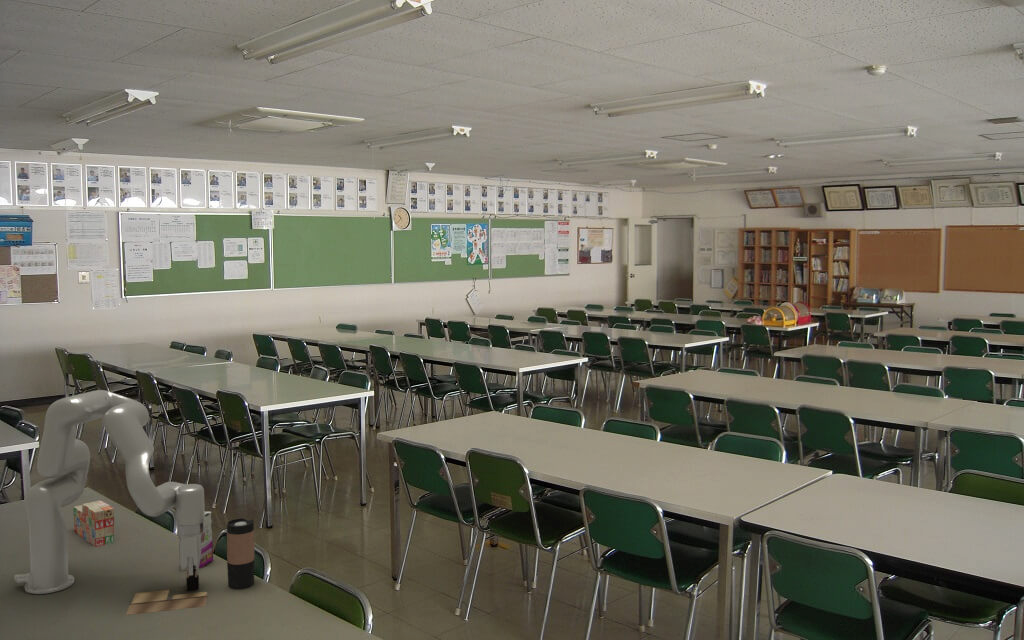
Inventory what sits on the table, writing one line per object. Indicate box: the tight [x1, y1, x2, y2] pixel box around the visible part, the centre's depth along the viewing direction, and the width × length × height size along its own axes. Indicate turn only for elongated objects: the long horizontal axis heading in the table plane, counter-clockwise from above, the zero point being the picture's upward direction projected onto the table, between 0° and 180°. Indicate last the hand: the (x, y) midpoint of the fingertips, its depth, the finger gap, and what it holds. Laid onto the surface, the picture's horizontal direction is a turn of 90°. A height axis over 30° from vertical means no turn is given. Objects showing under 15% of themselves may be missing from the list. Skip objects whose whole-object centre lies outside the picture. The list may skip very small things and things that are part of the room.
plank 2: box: [172, 586, 209, 599], centre depth 225 cm, size 9×7×1 cm
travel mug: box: [226, 517, 256, 590], centre depth 231 cm, size 8×8×20 cm
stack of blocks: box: [72, 500, 115, 548], centre depth 272 cm, size 21×6×12 cm, turn 46°
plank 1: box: [130, 589, 170, 604], centre depth 222 cm, size 9×7×1 cm
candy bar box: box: [178, 510, 214, 571], centre depth 246 cm, size 11×5×16 cm, turn 168°
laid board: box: [125, 595, 208, 616], centre depth 217 cm, size 20×7×1 cm, turn 107°
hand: (192, 589), depth 227 cm, fingers closed
